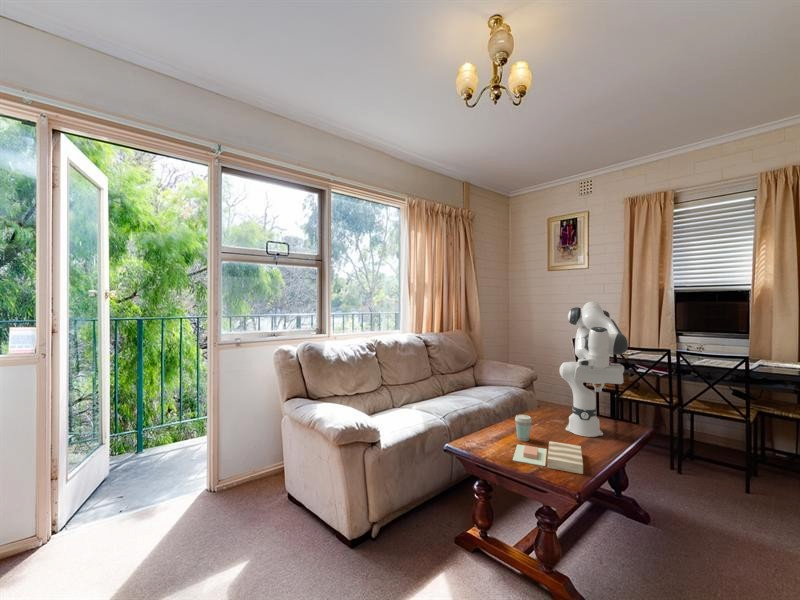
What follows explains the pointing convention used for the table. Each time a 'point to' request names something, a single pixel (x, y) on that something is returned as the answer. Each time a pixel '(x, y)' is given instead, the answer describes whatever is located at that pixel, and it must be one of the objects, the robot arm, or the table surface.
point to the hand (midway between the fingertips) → (598, 391)
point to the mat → (539, 461)
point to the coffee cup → (523, 427)
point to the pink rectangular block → (530, 452)
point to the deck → (565, 457)
